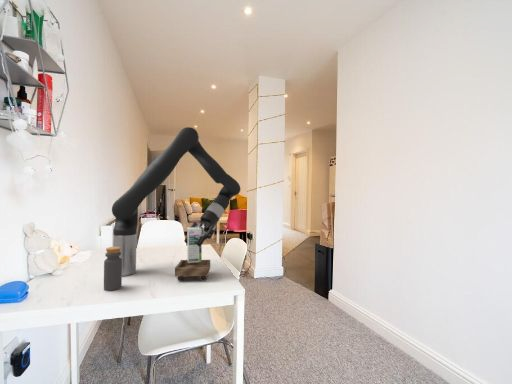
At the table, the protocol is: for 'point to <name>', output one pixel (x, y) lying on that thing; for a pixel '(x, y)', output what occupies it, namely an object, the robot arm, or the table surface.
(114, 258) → the bottle
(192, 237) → the syrup box
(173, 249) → the table surface
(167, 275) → the table surface
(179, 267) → the wooden toy cart
